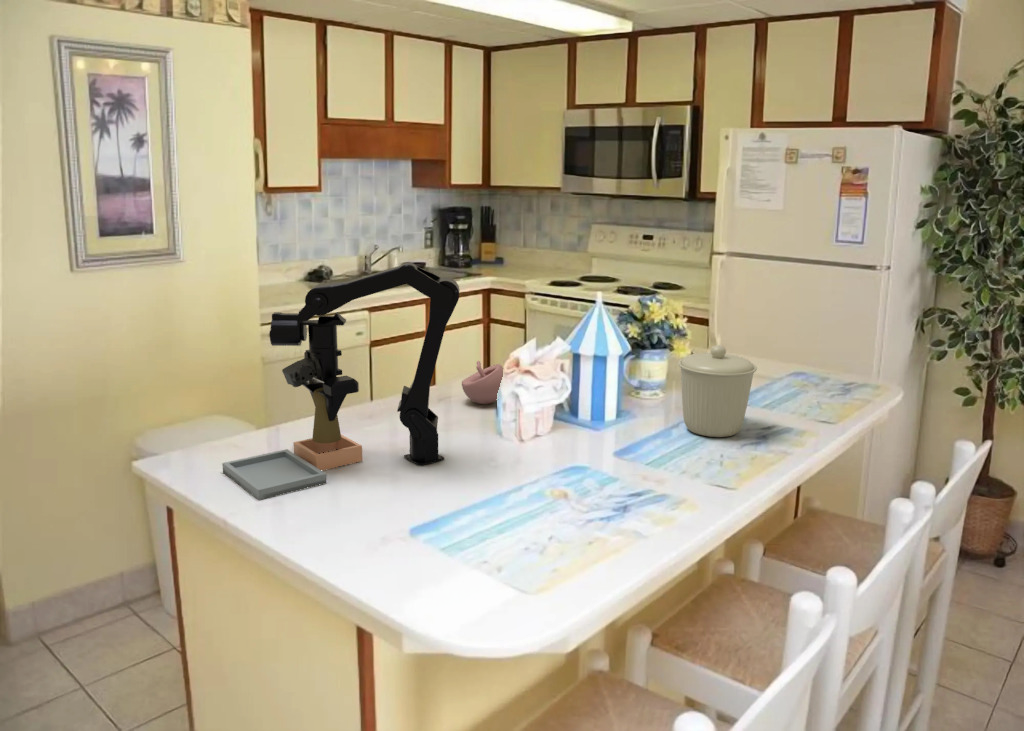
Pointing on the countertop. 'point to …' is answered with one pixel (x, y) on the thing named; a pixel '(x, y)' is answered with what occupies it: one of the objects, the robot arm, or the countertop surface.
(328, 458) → the holder
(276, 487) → the tray
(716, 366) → the canister
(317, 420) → the olive tapered piece
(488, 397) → the mortar and pestle
